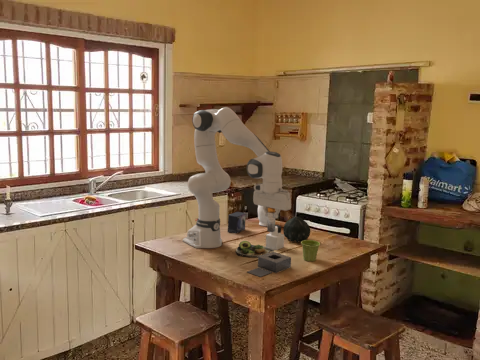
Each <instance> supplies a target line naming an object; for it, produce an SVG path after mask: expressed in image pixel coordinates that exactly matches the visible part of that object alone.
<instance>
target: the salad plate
mask: <svg viewBox="0 0 480 360" xmlns="http://www.w3.org/2000/svg"><path fill="white" fill-rule="evenodd" d="M271 252H275V250H274V249H270V248H267V247H266V245H265V246H264V245H261V244H256V245H254V244H252V242H250V241H248V240H242V241H240V242H239V244H238V247H237V248H236V250H235V254H236V255H237V256H240V257H243V258H244V257H245V258H258V257H259V256H262V255H265V254H268V253H271ZM261 254H262V255H261Z"/></svg>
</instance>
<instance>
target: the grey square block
mask: <svg viewBox="0 0 480 360" xmlns="http://www.w3.org/2000/svg"><path fill="white" fill-rule="evenodd" d="M257 268H262V269H265V270H268V271H270V272H272V273H274V274H277V273H280V272H283V271H285V270H288V269H290V268H292V257H291V256H289V255H285V254H282V253H279V252H275V251H271V252H269V253H268V254H265V255H262V256H259V257H257Z"/></svg>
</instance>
